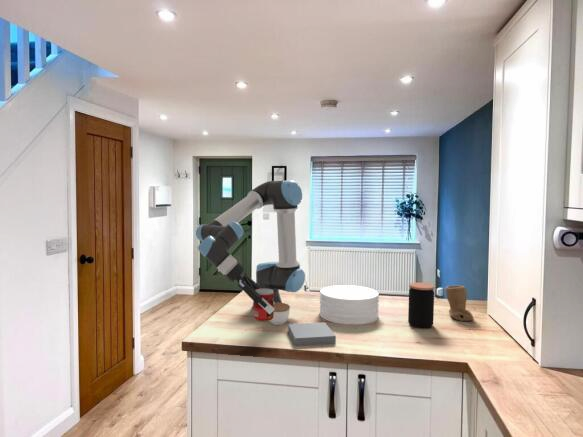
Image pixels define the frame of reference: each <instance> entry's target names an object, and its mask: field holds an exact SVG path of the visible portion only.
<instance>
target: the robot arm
mask: <svg viewBox="0 0 583 437" xmlns="http://www.w3.org/2000/svg"><path fill="white" fill-rule="evenodd" d="M302 190H303V189H302V188H301V186H300V185H299V183H297V182H296V181H294V180H288V179H286V180H269V181H265V182H263V183H261V184H259V185H258V186H256V187H255V188H253V189H251V190H250V191H248V192H247V194H246V195H247V196H245V197H243V198H242V199H241V200H240V201H238V202H237V203H235V204H234V205H232V206H231V207H230V208H228V209H227V210H225V211H224V212H223V213H222V214H220V215H218V217H216V218H215V219H213V220H212V221H211V222H209V223H207V224H206V223H204V224H200V225H198V227H197V228H196V230H195V236H196V238H197V240H199V241H200V244H198V245H197V250H198V251H199V253H200V254H201V255H202V256H203V257H204V258H205V259H207V260H208V262H210V263H211V265H213V266H214V267H215V268H216V269H217V272H219V273H221V274H222V275H225V278H226V279H227V280H228V281H230V283H233V282H234V281H236V282H237V283H238V284H237V286H238V287H239V288H240V289H241V290H242V291H244V292H243V293H246V295H247V296H248V297H249V298H250V299H251V300H252V308H253V309H254V302H255V304H257V303H258V304H259V305H260V306H261V307H262V308H263V309H265V310H266V311H267V312H268V313H269V314H271V313H272V312H273V311H274V310H275V309H274V308H273V307H272V306H271V305H270V304H269V303H268V302H267V301H266V300H265V299H264V298H262V297H261V296H260V295H259V294H258V293H257V292H256V289H262V288H266V289H272V290H273V292H274V304H275V303H277V302H279V303H283V302H282V297H281V296H280V294H281V293H280V291H283V292H287V293H297V292H299V291H300V290H301V289H302V288H303V286H304V284H305V281H306V273H305V271H304V269H302V268H301V266H300V264H301V263H300V262H299V261H298V260H297V245H296V244H297V242H296V241H297V240H296V217H295V212H296V211H297V209H298V208H299V205H300V204H301V202H302V200H303V191H302ZM270 205H271V206H273V211H275V212H276V222H277V246H278V248H277V249H278V261H268V262H261V263H258V264H257V265H256V269H255V270H256V271H255V277H256V278H255V281H254V280H253V279H252V278H251V277H250V276H249V275H248V273H246V272H245V273H243V272H244V271H245V266H244V265H242V264H241V263H240V262H238V260H237V259H236V258H235V257H234V256H233V255H232V254H231V253H230V252H229V250H230V249H231V248H232V247H233V246H234V245H235V244H236V243H238V241H239V240H240V239H241V237H242V236H243V235H244V229H243V227H242V226H241V224H240V222H241V221H243V219H245V218H246V217H248V216H249V215H250V214H252V213H253V212H254V211H255V210H257V209H258V210H259V209H261V208H263V207H265V206H270Z"/></svg>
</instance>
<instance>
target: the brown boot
mask: <svg viewBox="0 0 583 437" xmlns="http://www.w3.org/2000/svg"><path fill="white" fill-rule="evenodd" d="M444 292H445V297H446V299H447V301H448V304H449V308H450V309H449V310H448V313H449V316H450V317H451V318H453V319H455V320H457V321H462V322H468V321H473V320H474V318H475V317H474V316H473V315H472V312H471V311H470V310H468V309H467V308H466V307H467V300H468V299H467V298H468V294H467V288H466V286H464V285H461V284H460V285H459V284H458V285H448V286H446V287H445V288H444Z"/></svg>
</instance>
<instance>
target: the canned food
mask: <svg viewBox="0 0 583 437" xmlns="http://www.w3.org/2000/svg"><path fill="white" fill-rule="evenodd" d="M256 292H257V293H258V294H259V295H260V296H261V297H262V298H264V299H265V300H266V301H267V302H268V303H269V304H270V305H271V306H272V307H273V308H274V292H273V290H272V289H266V288H262V289H256ZM273 317H274V311H273V312H272V313H271V314H269V313H268V312H267V311H266V310H265V309H263V308H262V307H261V306H260V305H259V304H258V303H257V304H255V302H254V308H253V318H254V319H255V320H256V321H261V322H267V321H268V322H269V320H271V319H273Z"/></svg>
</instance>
